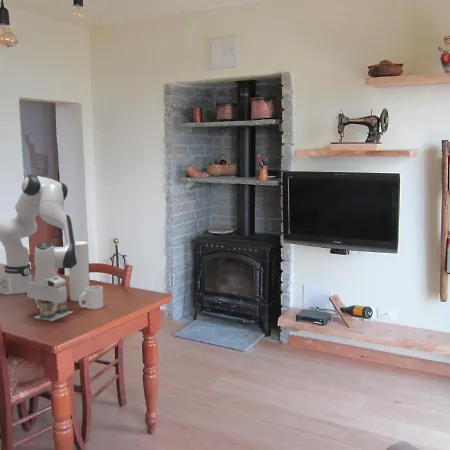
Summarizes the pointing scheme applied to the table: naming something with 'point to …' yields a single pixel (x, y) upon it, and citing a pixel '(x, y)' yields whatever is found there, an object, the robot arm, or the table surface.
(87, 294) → the mug
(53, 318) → the pin board
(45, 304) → the sleeve
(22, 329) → the table surface
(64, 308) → the sleeve seated
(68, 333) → the table surface
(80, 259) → the cylinder container
